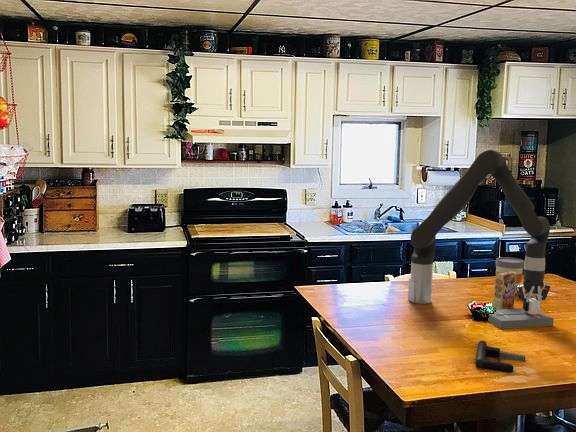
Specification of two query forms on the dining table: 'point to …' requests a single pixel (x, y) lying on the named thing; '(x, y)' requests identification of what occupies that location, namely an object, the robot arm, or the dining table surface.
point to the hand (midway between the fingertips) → (531, 310)
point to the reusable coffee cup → (510, 267)
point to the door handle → (494, 352)
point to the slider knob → (534, 306)
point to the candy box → (504, 290)
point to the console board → (519, 319)
